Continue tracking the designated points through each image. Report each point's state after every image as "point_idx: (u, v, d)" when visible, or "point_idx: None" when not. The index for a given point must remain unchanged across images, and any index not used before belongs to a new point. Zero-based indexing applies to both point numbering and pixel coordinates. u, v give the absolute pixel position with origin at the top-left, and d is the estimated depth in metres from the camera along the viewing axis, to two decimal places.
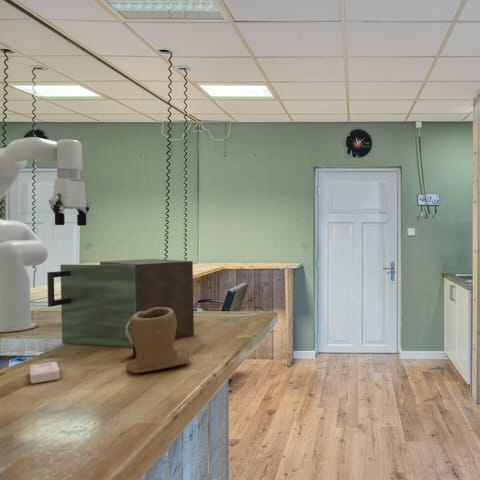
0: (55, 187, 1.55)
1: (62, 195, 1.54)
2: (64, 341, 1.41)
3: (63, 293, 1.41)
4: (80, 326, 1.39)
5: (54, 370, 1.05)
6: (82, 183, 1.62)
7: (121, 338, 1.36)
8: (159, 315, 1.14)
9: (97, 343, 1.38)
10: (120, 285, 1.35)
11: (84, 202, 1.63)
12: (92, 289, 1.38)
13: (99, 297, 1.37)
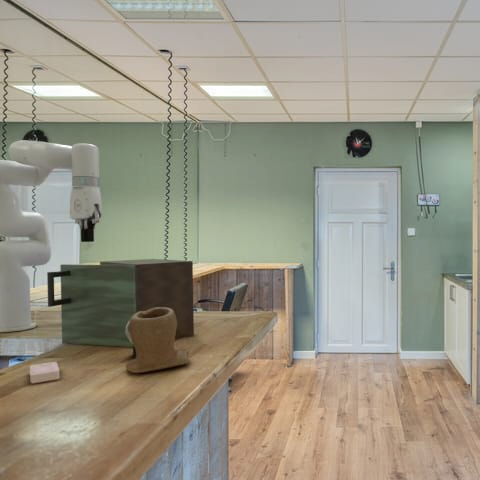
0: (91, 196, 1.41)
1: (100, 206, 1.44)
2: (64, 341, 1.41)
3: (63, 293, 1.41)
4: (80, 326, 1.39)
5: (54, 370, 1.05)
6: None
7: (121, 338, 1.36)
8: (159, 315, 1.14)
9: (97, 343, 1.38)
10: (120, 285, 1.35)
11: None
12: (92, 289, 1.38)
13: (99, 297, 1.37)
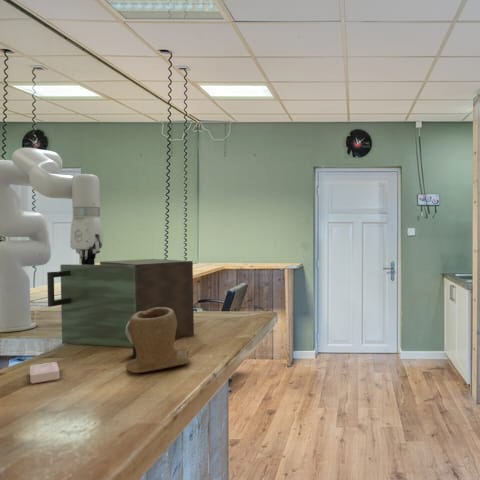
0: (92, 227, 1.42)
1: (101, 236, 1.44)
2: (64, 341, 1.41)
3: (63, 293, 1.41)
4: (80, 326, 1.39)
5: (54, 370, 1.05)
6: None
7: (121, 338, 1.36)
8: (159, 315, 1.14)
9: (97, 343, 1.38)
10: (120, 285, 1.35)
11: None
12: (92, 289, 1.38)
13: (99, 297, 1.37)
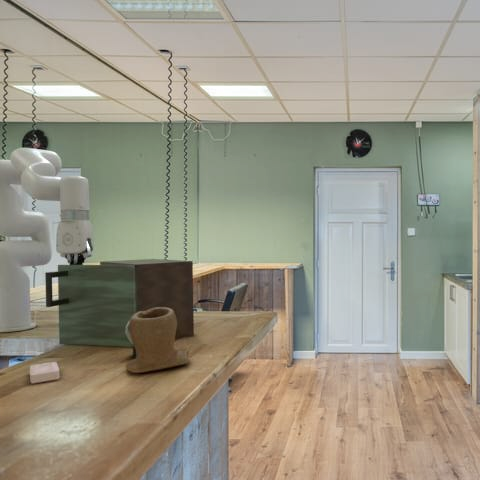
0: (84, 230, 1.39)
1: (92, 239, 1.41)
2: (61, 342, 1.40)
3: (60, 293, 1.40)
4: (78, 326, 1.39)
5: (54, 370, 1.05)
6: None
7: (120, 338, 1.35)
8: (159, 315, 1.14)
9: (96, 343, 1.37)
10: (120, 285, 1.35)
11: None
12: (91, 289, 1.37)
13: (98, 297, 1.37)
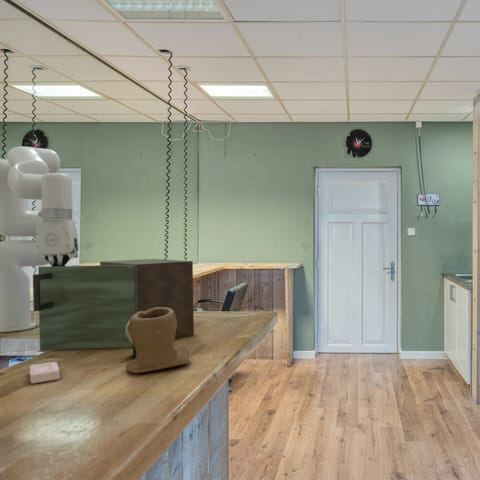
0: (71, 230, 1.34)
1: (77, 240, 1.36)
2: (43, 348, 1.32)
3: (42, 297, 1.32)
4: (65, 331, 1.33)
5: (54, 370, 1.05)
6: None
7: (118, 339, 1.34)
8: (159, 315, 1.14)
9: (88, 347, 1.33)
10: (117, 286, 1.34)
11: None
12: (81, 291, 1.33)
13: (90, 299, 1.33)
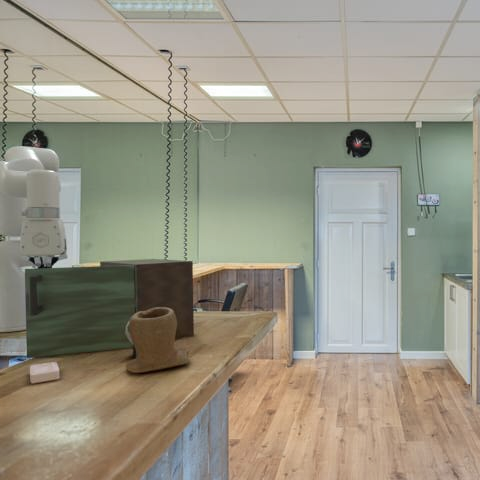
0: (62, 230, 1.28)
1: None
2: (30, 356, 1.24)
3: (29, 301, 1.24)
4: (57, 335, 1.27)
5: (54, 370, 1.05)
6: None
7: (117, 341, 1.33)
8: (159, 315, 1.14)
9: (83, 350, 1.29)
10: (117, 286, 1.32)
11: None
12: (76, 293, 1.28)
13: (86, 301, 1.29)
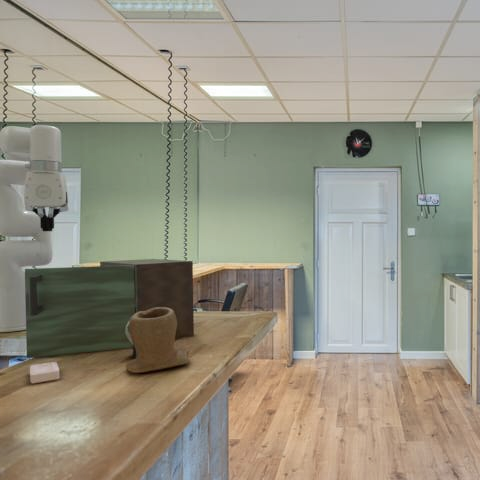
0: (64, 183, 1.35)
1: (67, 193, 1.38)
2: (30, 356, 1.24)
3: (29, 301, 1.24)
4: (57, 335, 1.27)
5: (54, 370, 1.05)
6: None
7: (117, 341, 1.33)
8: (159, 315, 1.14)
9: (83, 350, 1.29)
10: (117, 286, 1.32)
11: None
12: (76, 293, 1.28)
13: (86, 301, 1.29)
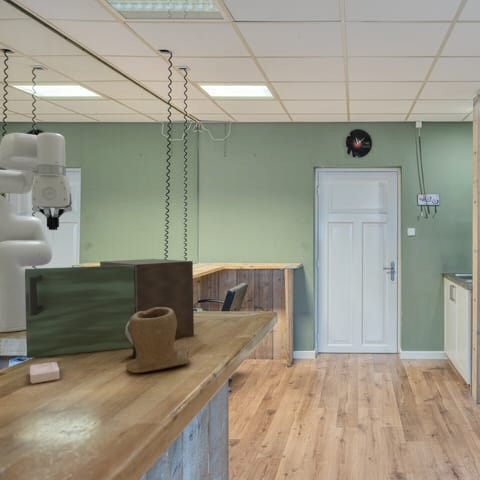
0: (68, 186, 1.47)
1: None
2: (30, 356, 1.24)
3: (29, 301, 1.24)
4: (57, 335, 1.27)
5: (54, 370, 1.05)
6: None
7: (117, 341, 1.33)
8: (159, 315, 1.14)
9: (83, 350, 1.29)
10: (117, 286, 1.32)
11: None
12: (76, 293, 1.28)
13: (86, 301, 1.29)
